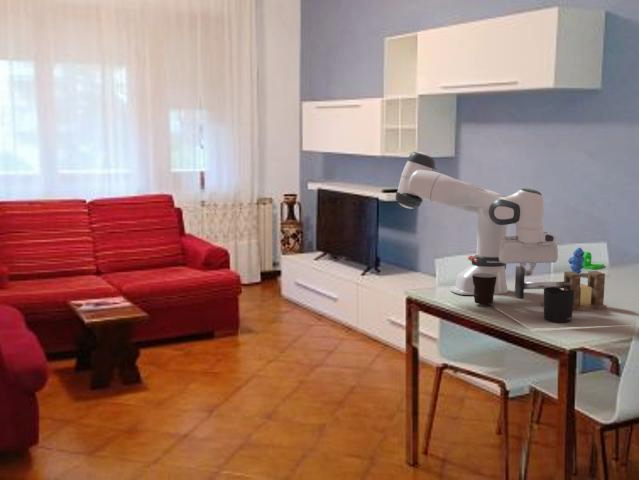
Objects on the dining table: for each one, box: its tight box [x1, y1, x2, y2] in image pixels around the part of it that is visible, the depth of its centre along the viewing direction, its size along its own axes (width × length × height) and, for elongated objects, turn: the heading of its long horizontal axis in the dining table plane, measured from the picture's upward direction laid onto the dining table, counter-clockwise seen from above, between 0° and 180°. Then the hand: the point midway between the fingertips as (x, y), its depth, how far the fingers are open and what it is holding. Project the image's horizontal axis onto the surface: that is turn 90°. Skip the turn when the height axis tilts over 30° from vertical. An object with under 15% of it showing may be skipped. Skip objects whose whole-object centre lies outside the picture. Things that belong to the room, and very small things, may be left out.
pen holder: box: [543, 287, 574, 324], centre depth 234 cm, size 9×9×10 cm
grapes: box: [567, 247, 585, 274], centre depth 316 cm, size 12×7×12 cm, turn 142°
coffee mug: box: [472, 273, 497, 305], centre depth 261 cm, size 12×9×10 cm
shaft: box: [514, 265, 570, 300], centre depth 251 cm, size 20×5×10 cm, turn 97°
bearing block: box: [540, 270, 608, 311], centre depth 253 cm, size 20×9×12 cm, turn 97°
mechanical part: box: [582, 251, 605, 271], centre depth 332 cm, size 12×6×8 cm, turn 130°
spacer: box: [579, 283, 592, 306], centre depth 253 cm, size 4×6×6 cm, turn 7°
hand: (527, 275), depth 250 cm, fingers closed
